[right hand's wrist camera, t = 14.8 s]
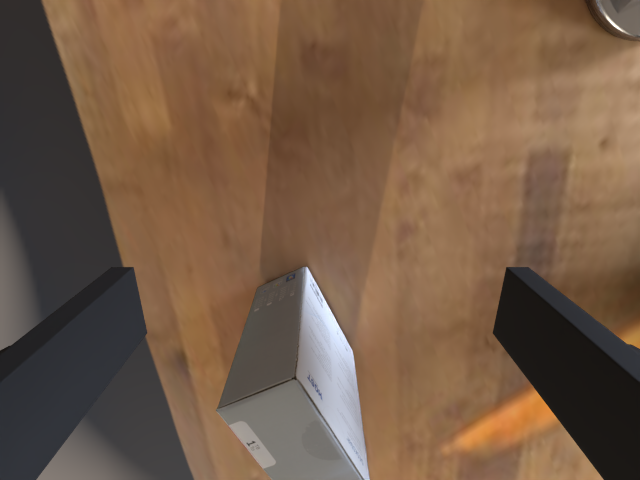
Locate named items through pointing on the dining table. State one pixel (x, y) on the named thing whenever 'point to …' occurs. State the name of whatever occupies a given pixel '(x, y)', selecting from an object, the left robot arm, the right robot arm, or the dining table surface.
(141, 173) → the dining table surface
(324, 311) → the hard drive box
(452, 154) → the dining table surface
